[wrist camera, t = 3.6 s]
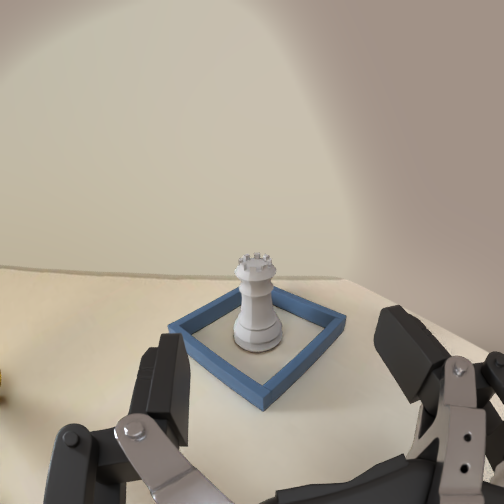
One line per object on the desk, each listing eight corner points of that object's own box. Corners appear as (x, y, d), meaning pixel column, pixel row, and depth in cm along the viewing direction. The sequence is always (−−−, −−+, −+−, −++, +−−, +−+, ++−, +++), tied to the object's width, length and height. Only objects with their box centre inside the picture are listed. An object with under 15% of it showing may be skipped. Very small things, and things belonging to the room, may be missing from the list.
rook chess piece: (275, 359, 22) (275, 276, 19) (226, 348, 23) (215, 269, 20) (287, 327, 26) (289, 250, 22) (243, 319, 27) (238, 245, 24)
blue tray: (254, 291, 32) (254, 277, 31) (344, 330, 25) (346, 315, 24) (171, 339, 24) (167, 325, 24) (263, 411, 17) (262, 398, 16)
